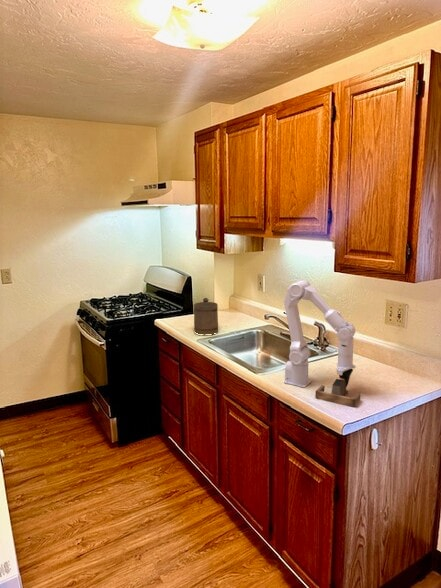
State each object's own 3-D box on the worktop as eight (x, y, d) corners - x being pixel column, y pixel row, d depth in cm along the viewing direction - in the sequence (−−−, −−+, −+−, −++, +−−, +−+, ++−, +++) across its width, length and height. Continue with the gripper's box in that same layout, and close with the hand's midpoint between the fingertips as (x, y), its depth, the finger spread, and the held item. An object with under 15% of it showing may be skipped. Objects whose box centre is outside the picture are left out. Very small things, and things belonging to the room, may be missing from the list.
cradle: (315, 398, 160) (315, 391, 160) (321, 391, 166) (321, 384, 166) (355, 407, 152) (355, 400, 151) (360, 400, 158) (360, 393, 157)
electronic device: (348, 393, 164) (349, 375, 162) (341, 403, 156) (342, 384, 154) (337, 391, 166) (338, 373, 165) (330, 400, 158) (330, 382, 157)
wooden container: (222, 331, 257) (221, 297, 253) (210, 337, 244) (209, 301, 240) (202, 328, 264) (201, 295, 260) (189, 334, 252) (188, 299, 248)
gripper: (350, 361, 155) (348, 394, 157) (360, 350, 167) (359, 382, 169) (332, 358, 159) (331, 391, 161) (343, 347, 170) (342, 378, 173)
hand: (344, 386), depth 165 cm, fingers closed
